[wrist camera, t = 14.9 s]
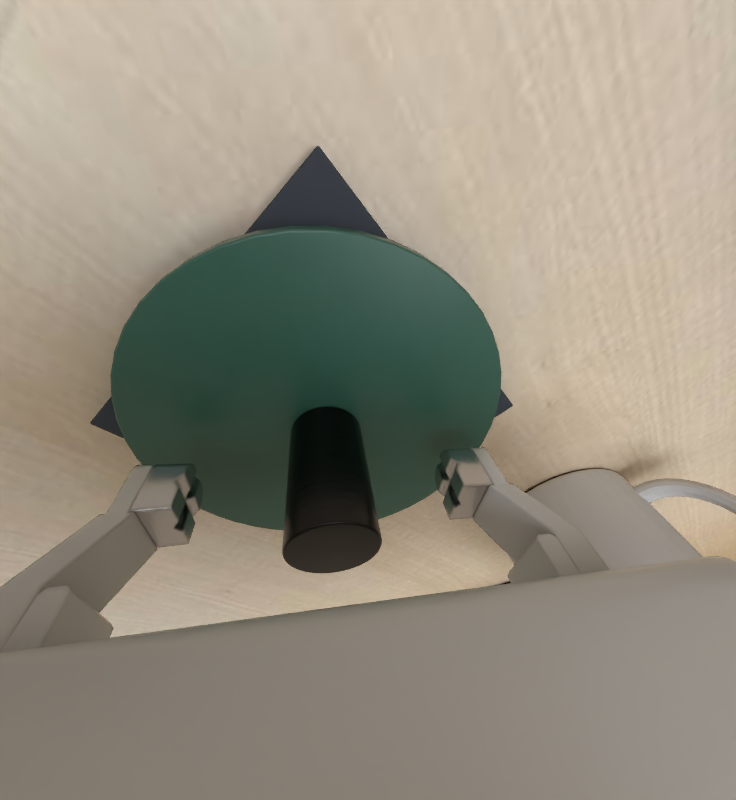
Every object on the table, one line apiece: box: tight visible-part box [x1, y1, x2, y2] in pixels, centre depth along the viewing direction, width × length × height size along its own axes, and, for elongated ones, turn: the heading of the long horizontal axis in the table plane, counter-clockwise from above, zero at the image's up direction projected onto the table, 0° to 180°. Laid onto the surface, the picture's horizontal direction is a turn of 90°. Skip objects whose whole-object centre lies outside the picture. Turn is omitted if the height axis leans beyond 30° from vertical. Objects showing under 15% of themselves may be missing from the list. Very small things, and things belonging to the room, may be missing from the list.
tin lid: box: [111, 226, 501, 573], centre depth 10 cm, size 14×14×6 cm
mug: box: [509, 469, 736, 570], centre depth 17 cm, size 11×10×10 cm
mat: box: [91, 146, 513, 439], centre depth 13 cm, size 12×12×1 cm
